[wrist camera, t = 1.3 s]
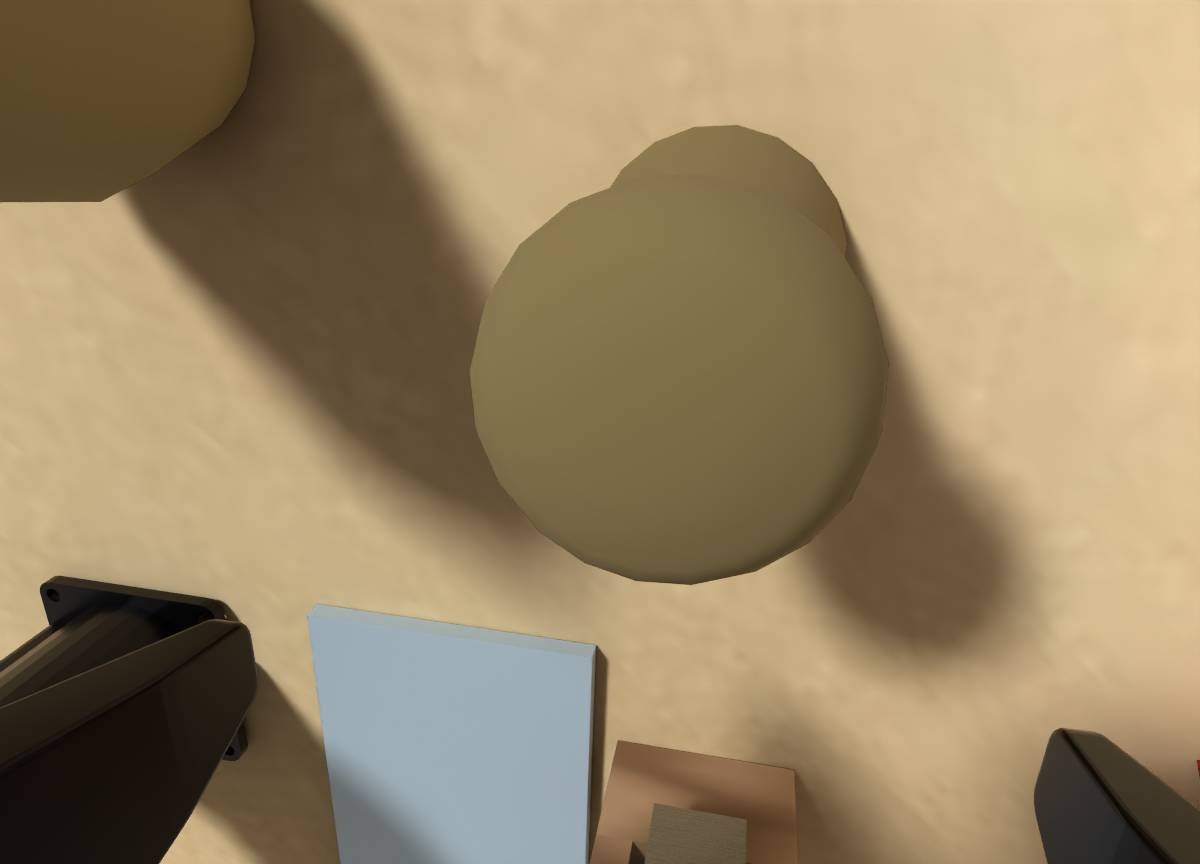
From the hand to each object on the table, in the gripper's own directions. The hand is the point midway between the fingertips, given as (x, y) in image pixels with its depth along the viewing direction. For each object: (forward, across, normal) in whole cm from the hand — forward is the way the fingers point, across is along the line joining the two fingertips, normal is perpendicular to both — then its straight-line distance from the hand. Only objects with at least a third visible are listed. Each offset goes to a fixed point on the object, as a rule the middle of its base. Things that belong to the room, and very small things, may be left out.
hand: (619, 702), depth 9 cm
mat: (+12, +7, +23) cm, 27 cm away
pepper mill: (+12, 0, -3) cm, 12 cm away
